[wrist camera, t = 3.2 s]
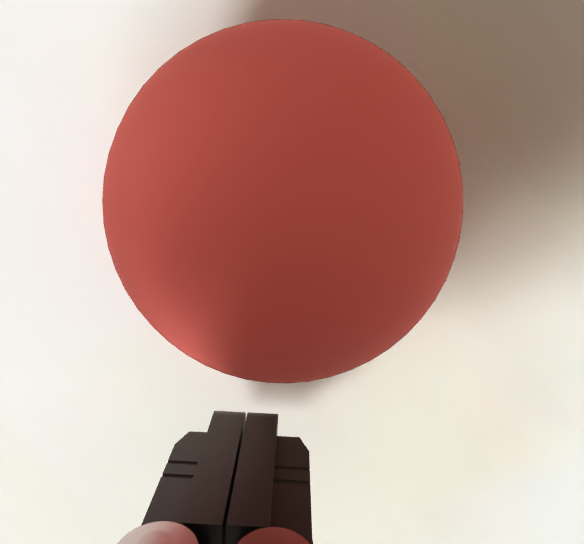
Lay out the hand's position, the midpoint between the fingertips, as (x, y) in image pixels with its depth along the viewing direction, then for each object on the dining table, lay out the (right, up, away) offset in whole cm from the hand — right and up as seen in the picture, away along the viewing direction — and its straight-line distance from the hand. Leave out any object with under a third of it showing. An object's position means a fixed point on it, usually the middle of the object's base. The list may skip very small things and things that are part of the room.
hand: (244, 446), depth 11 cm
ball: (+1, +5, -3) cm, 6 cm away
